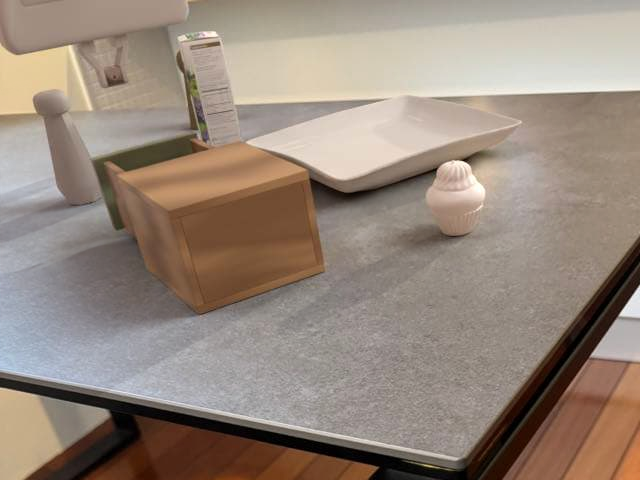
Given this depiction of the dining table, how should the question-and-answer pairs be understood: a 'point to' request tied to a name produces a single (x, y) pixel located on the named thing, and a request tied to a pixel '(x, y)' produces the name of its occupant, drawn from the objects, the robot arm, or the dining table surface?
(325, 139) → the square plate
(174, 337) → the dining table surface
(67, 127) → the salt shaker
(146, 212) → the cabinet
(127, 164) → the drawer
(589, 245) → the dining table surface
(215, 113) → the syrup box
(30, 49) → the robot arm
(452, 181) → the muffin
